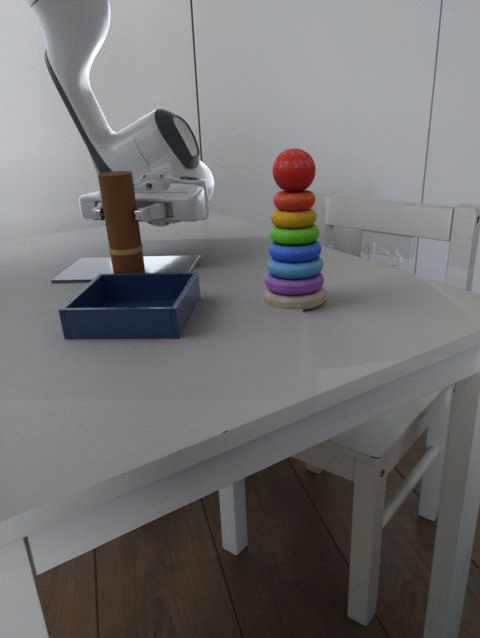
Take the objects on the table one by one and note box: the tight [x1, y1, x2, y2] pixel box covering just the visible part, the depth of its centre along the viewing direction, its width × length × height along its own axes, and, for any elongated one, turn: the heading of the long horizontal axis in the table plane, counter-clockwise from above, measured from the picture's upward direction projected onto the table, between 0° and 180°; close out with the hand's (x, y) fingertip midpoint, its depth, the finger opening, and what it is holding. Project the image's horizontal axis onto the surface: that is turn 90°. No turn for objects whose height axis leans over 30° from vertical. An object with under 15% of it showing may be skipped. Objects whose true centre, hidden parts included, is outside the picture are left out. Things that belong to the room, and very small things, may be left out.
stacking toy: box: [263, 147, 327, 311], centre depth 69 cm, size 8×8×19 cm
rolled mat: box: [97, 171, 145, 272], centre depth 85 cm, size 5×5×14 cm
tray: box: [58, 271, 202, 341], centre depth 69 cm, size 13×13×4 cm
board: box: [50, 254, 202, 284], centre depth 88 cm, size 20×12×1 cm, turn 85°
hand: (117, 215), depth 83 cm, fingers open, 6 cm apart
